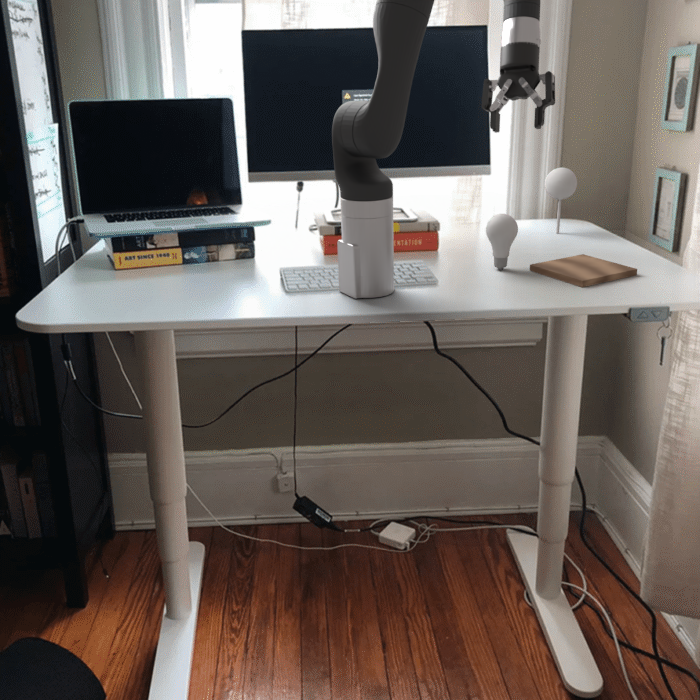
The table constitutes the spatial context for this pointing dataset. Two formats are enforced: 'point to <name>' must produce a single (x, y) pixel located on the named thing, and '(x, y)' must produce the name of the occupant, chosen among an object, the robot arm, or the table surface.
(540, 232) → the table surface
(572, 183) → the lollipop
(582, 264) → the walnut board
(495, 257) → the lightbulb
